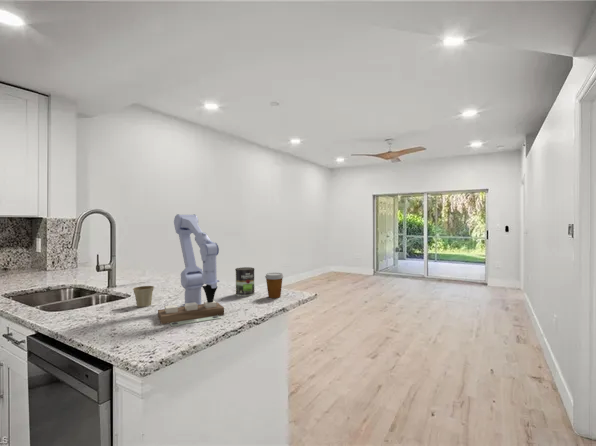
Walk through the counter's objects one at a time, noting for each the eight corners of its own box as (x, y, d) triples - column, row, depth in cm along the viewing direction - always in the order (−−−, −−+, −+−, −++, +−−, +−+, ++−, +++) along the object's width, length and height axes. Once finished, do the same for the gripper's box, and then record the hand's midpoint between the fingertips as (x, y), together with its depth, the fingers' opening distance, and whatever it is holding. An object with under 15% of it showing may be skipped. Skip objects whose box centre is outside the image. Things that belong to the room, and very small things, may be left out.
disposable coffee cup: (283, 298, 169) (282, 275, 169) (264, 299, 169) (264, 275, 169) (284, 294, 178) (283, 272, 178) (266, 294, 178) (266, 272, 178)
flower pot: (128, 307, 156) (128, 288, 156) (144, 302, 165) (144, 285, 165) (143, 309, 152) (143, 290, 152) (158, 304, 161) (158, 286, 161)
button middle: (184, 311, 141) (184, 303, 141) (195, 309, 143) (195, 302, 143) (186, 313, 137) (186, 305, 137) (197, 312, 139) (197, 304, 139)
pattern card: (169, 323, 130) (169, 322, 130) (217, 316, 139) (217, 315, 139) (171, 326, 126) (171, 325, 126) (220, 318, 136) (220, 317, 136)
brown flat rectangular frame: (157, 317, 139) (157, 310, 139) (217, 308, 151) (216, 302, 151) (161, 324, 129) (161, 316, 129) (224, 314, 141) (224, 307, 141)
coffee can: (257, 295, 178) (257, 268, 178) (238, 297, 173) (238, 270, 173) (251, 291, 187) (250, 266, 187) (233, 293, 183) (232, 268, 182)
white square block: (203, 309, 145) (203, 301, 145) (213, 307, 147) (213, 300, 147) (206, 311, 141) (206, 303, 141) (216, 310, 143) (216, 302, 143)
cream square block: (164, 314, 137) (164, 306, 137) (176, 312, 139) (175, 304, 139) (166, 316, 133) (166, 308, 133) (177, 315, 135) (177, 307, 135)
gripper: (223, 272, 140) (224, 304, 140) (214, 268, 152) (214, 297, 152) (206, 273, 136) (207, 306, 136) (198, 269, 149) (199, 299, 149)
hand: (210, 302), depth 144 cm, fingers closed, pressing on white square block
